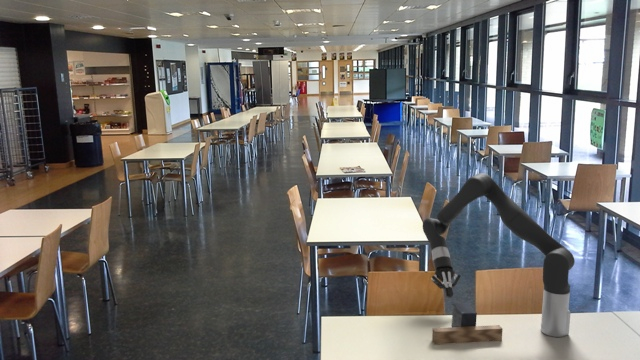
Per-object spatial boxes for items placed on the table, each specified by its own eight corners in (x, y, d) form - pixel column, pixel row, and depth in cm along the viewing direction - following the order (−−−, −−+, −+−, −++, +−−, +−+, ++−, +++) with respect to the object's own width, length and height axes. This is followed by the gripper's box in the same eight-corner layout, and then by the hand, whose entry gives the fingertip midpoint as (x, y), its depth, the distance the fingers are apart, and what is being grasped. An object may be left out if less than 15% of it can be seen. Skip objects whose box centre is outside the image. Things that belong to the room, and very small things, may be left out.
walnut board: (498, 337, 210) (499, 325, 209) (501, 340, 207) (502, 328, 206) (432, 340, 207) (432, 328, 206) (434, 344, 204) (434, 331, 203)
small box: (476, 338, 209) (477, 312, 207) (460, 339, 208) (461, 313, 206) (466, 326, 219) (467, 301, 217) (450, 327, 219) (451, 302, 217)
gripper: (428, 256, 233) (436, 294, 224) (458, 254, 235) (467, 292, 225) (424, 264, 240) (432, 301, 230) (454, 262, 241) (463, 300, 231)
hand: (450, 297), depth 227 cm, fingers closed
